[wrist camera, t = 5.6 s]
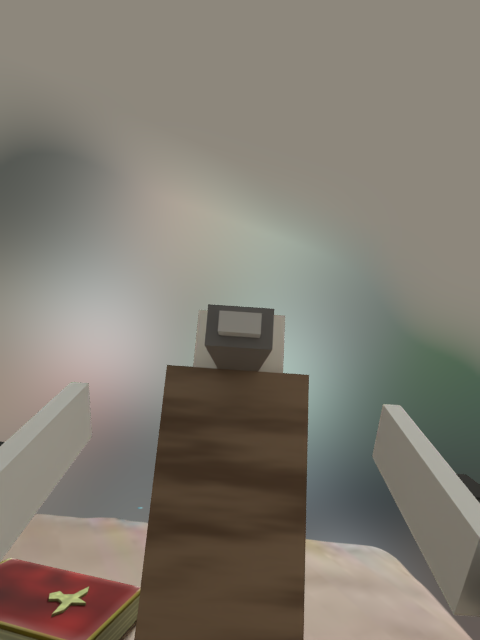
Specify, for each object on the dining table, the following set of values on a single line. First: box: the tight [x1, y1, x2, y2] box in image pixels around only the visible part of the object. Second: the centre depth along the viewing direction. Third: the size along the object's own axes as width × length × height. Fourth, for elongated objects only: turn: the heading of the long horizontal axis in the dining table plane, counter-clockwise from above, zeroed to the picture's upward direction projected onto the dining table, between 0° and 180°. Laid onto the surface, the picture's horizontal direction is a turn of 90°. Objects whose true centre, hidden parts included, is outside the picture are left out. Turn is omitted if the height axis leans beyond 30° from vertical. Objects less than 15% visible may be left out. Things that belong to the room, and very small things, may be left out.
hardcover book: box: [0, 558, 141, 640], centre depth 40 cm, size 12×21×4 cm, turn 76°
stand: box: [134, 365, 309, 640], centre depth 35 cm, size 10×14×30 cm
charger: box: [193, 305, 285, 373], centre depth 32 cm, size 25×9×6 cm, turn 1°
